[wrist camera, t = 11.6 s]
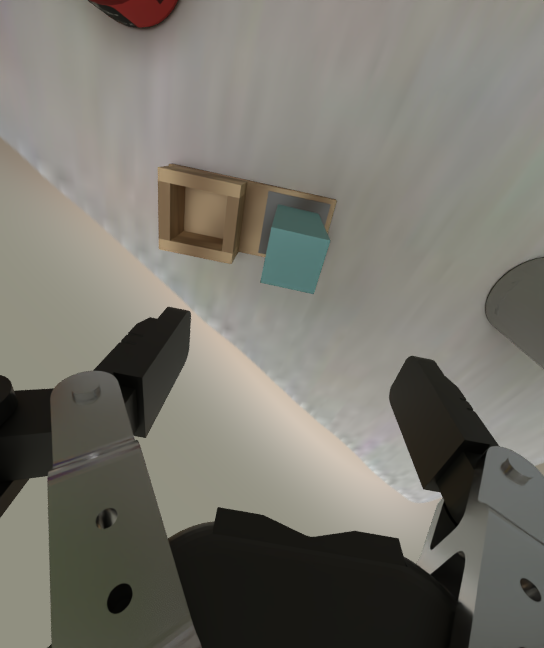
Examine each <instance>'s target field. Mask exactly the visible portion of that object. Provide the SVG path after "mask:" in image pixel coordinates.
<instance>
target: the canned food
mask: <svg viewBox="0 0 544 648" xmlns="http://www.w3.org/2000/svg"><path fill="white" fill-rule="evenodd" d="M88 1H89V2H90V3H92V4H93V5H94V6H96V7H97V8H99V9H100V10H101V11H103V12H104V13H105V14H107V15H108V16H109V17H111V18H113V19H114V20H116V21H117V22H119V23H121V24H124V25H127V26H130V27H138V28H143V27H150V26H154V25H156V24H158V23H160V22H162V21H163V20H164V19H165V18H166V17H168V15H169V14H170V13H171V12H172V10H173V9H174V7H175V5H176V3H177V1H178V0H88Z"/></svg>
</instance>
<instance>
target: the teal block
mask: <svg viewBox="0 0 544 648" xmlns="http://www.w3.org/2000/svg"><path fill="white" fill-rule="evenodd" d="M329 243H330V239H329V236H328V234H327V232H326V229H325V227H324V225H323V223H322V220H321V218H320V216H319V214H317V213H313V212H309V211H305V210H300V209H296V208H292V207H288V206H283V205H279V204H278V206H277V210H276V213H275V217H274V220H273V224H272V227H271V232H270V237H269V242H268V247H267V252H266V257H265V262H264V267H263V272H262V277H261V282H260V283H265V284H269V285H274V286H279V287H283V288H288V289H292V290H297V291H301V292H306V293H311V294H314V291H315V288H316V285H317V282H318V279H319V275H320V272H321V269H322V266H323V263H324V259H325V256H326V253H327V250H328V247H329Z"/></svg>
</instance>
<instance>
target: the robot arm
mask: <svg viewBox="0 0 544 648" xmlns="http://www.w3.org/2000/svg"><path fill="white" fill-rule="evenodd" d="M486 315H487V318H488V320H489V321H490V323H491V324H492V325H493V326H494V327H495V328H496V329H498V330H499V331H500V332H501V333H502V334H503V335H505V336H506V337H507V338H508V339H509V340H510V341H512V342H513V343H514V344H515V345H516V346H517V347H518V348H519V349H521V350H522V351H523V352H524V353H525V354H526V355H528V356H529V357H530V358H531V359H532V360H533V361H535V362H536V363H537V364H538V365H539V366H540V367H542V368H543V369H544V258H538V259H534V260H531V261H528V262H525V263H523V264H521V265H519V266H518V267H516V268H514V269H513V270H511V271H510V272H508V273H507V274H506V275H505V276H504V277H502V278H501V279H500V280H499V281H498V282H497V284H496V285H495V286H494V288H493V289H492V291H491V293H490V294H489V296H488V299H487V303H486ZM190 323H191V313H190V311H187V310H182V309H177V308H172V307H167V308H166V309H165V310H164V312H163V313H162V314H161V315H160V316H159V318H158V319H155V318H148V319H146V320H144V321H142V322H140V323H138V324H136V325H135V326H134V328H132V330H131V331H130V332H129V333H128V335H126V336H125V337H124V338H123V339H122V341H121V343H118V345H117V346H116V347H115V348H114V349H113V350H112V351H111V352H110V353H109V354H108V355H107V356H106V357H105V359H104V360H103V361H102V362H101V363H100V364H99V365H98V366H97V367H96V368H95V369H94V370H93V371H86V372H81V373H77V374H75V375H72V376H70V377H68V378H66V379H64V380H62V381H61V382H60V383H59V384H58V385H57V386H56V387H55V388H53V389H39V390H21V391H14V390H13V387H12V384H11V382H10V380H9V379H8V378H6V377H4V376H2V375H0V517H1V516H2V515H3V513H4V512H5V511H6V509H7V508H8V507H9V505H10V504H11V503H12V501H13V500H14V499H15V497H16V496H17V495H18V493H19V492H20V491H21V489H22V488H23V486H24V485H25V484H26V483H27V481H28V480H29V478H36V477H43V476H48V519H49V520H48V523H49V560H50V599H51V638H52V644H51V645H50V646H49V647H48V648H544V476H543V475H542V474H541V472H540V471H539V470H538V469H537V468H536V467H535V466H534V465H533V464H532V463H530V462H529V461H528V460H527V459H525V458H524V457H522V456H521V455H519V454H518V453H516V452H514V451H512V450H510V449H507V448H504V447H500V446H499V445H498V444H497V442H496V441H495V439H494V438H493V437H492V435H491V434H490V432H489V431H488V430H487V428H486V427H485V425H484V424H483V422H482V421H481V420H480V418H479V417H478V415H477V414H476V412H473V408H472V407H471V405H470V404H469V403H468V402H467V401H466V398H465V397H464V395H463V394H462V393H461V391H460V390H459V388H458V387H457V386H456V385H455V384H453V383H452V382H451V381H450V380H449V379H448V378H447V377H446V376H444V374H443V373H442V371H441V370H440V368H439V367H438V365H437V364H436V363H435V361H433V360H430V359H425V358H420V357H415V356H410V357H408V358H407V359H406V361H405V363H404V364H403V366H402V368H401V370H400V372H399V374H398V375H397V377H396V379H395V381H394V383H393V384H392V386H391V389H390V394H389V400H390V404H391V407H392V409H393V412H394V415H395V417H396V420H397V422H398V425H399V428H400V430H401V433H402V435H403V438H404V441H405V443H406V446H407V448H408V451H409V453H410V456H411V459H412V461H413V464H414V466H415V469H416V472H417V474H418V477H419V479H420V482H421V485H422V487H423V489H425V490H430V491H436V492H441V495H442V497H443V498H442V499H441V501H440V502H439V503H438V505H437V507H436V510H435V513H434V516H433V519H432V522H431V526H430V528H429V532H428V535H427V538H426V541H425V544H424V547H423V550H422V553H421V556H420V557H419V559H418V561H417V563H416V564H415V563H414V562H412V561H410V560H409V559H407V558H405V557H403V553H402V550H401V546H400V542H399V539H398V538H392V537H387V536H381V535H376V534H370V533H364V532H358V531H351V532H344V533H338V534H331V535H324V536H317V537H309V536H306V535H304V534H302V533H299V532H297V531H295V530H293V529H291V528H289V527H287V526H285V525H283V524H281V523H279V522H277V521H274V520H272V519H270V518H268V517H266V516H264V515H260V514H254V513H248V512H243V511H237V510H231V509H225V508H220V507H218V508H217V513H216V518H215V521H214V522H207V523H202V524H198V525H195V526H192V527H189V528H187V529H185V530H182V531H180V532H178V533H177V534H175V535H173V536H171V537H170V538H167V535H166V532H165V528H164V525H163V521H162V518H161V514H160V511H159V508H158V504H157V501H156V497H155V494H154V491H153V487H152V484H151V480H150V477H149V474H148V471H147V467H146V464H145V460H144V457H143V453H142V450H141V447H140V444H139V442H138V441H137V440H135V439H134V436H138V437H144V438H146V436H147V435H148V433H149V431H150V429H151V427H152V425H153V423H154V421H155V419H156V417H157V416H158V414H159V412H160V410H161V408H162V406H163V404H164V402H165V400H166V398H167V396H168V395H169V393H170V391H171V388H172V387H173V385H174V383H175V381H176V379H177V377H178V376H179V373H180V372H181V370H182V368H183V366H184V364H185V362H186V359H187V356H188V352H189V342H190Z"/></svg>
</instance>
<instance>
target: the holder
mask: <svg viewBox="0 0 544 648" xmlns="http://www.w3.org/2000/svg"><path fill="white" fill-rule="evenodd" d="M336 202H337V201H336V199H331V198H327V197H322V196H318V195H313V194H309V193H304V192H299V191H295V190H290V189H286V188H281V187H277V186H272V185H268V184H263V183H258V182H254V181H249V180H245V179H240V178H236V177H231V176H226V175H222V174H217V173H213V172H208V171H204V170H199V169H194V168H190V167H185V166H181V165H176V164H169V166H164V167H158V218H159V249H160V250H165V251H170V252H175V253H180V254H185V255H190V256H194V257H199V258H204V259H209V260H214V261H219V262H224V263H229V264H232V262H233V260H234V258H235V257H236V255H237V253H238V252H242V253H247V254H252V255H257V256H262V257H266V252H267V247H268V242H269V237H270V232H271V227H272V224H273V220H274V217H275V213H276V210H277V206H278V204H279V205H283V206H288V207H292V208H296V209H300V210H305V211H309V212H313V213H317V214H319V216H320V218H321V220H322V223H323V225H324V227H325V229H326V232H327V233H328V230H329V226H330V223H331V219H332V216H333V212H334V209H335V205H336Z"/></svg>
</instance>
